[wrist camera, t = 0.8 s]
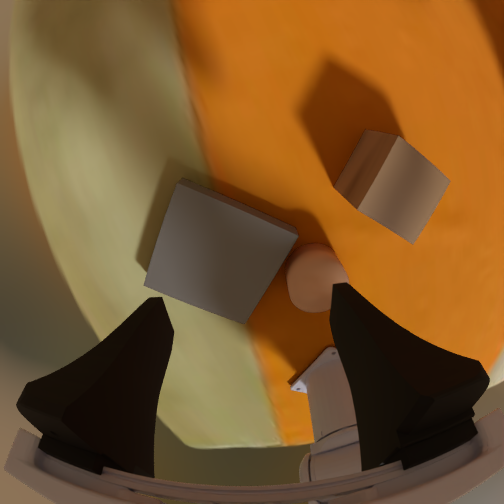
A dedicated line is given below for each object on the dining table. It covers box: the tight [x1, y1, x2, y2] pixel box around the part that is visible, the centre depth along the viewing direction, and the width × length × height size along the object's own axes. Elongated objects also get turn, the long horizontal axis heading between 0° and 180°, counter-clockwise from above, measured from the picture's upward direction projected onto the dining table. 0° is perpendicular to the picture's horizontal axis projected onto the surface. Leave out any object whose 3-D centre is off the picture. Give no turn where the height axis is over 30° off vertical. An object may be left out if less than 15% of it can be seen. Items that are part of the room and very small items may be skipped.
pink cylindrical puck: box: [285, 243, 349, 313], centre depth 21 cm, size 4×4×3 cm
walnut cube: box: [333, 129, 450, 244], centre depth 16 cm, size 5×5×5 cm
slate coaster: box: [144, 178, 299, 324], centre depth 21 cm, size 9×9×2 cm
